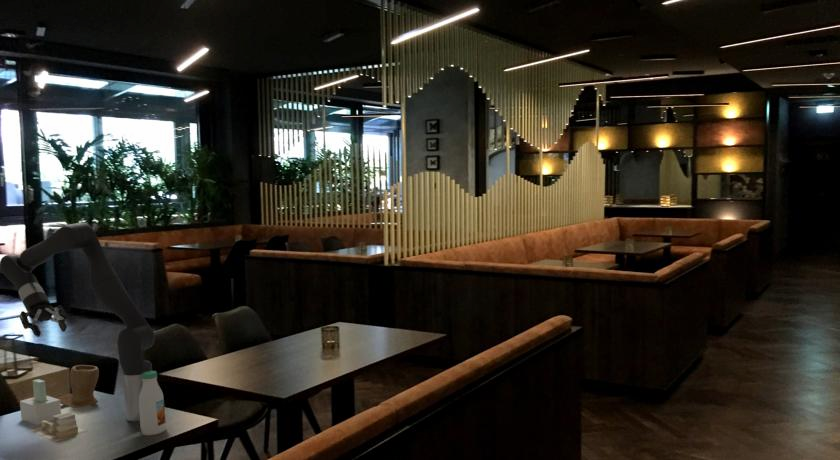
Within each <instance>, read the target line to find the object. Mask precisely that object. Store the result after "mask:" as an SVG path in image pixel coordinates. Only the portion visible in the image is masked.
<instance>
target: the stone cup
mask: <svg viewBox="0 0 840 460" xmlns="http://www.w3.org/2000/svg"><path fill="white" fill-rule="evenodd" d="M99 377H100V370H99V368H98V366H95V365H89V364H87V365H86V364H78V365H74V366H72V367H71V369H70V371H69V383H70V388H71V389H70V390H71V393H68V394H65V395H64V394H63V395H61V396H60V397H58V398H57V399H59V400H60V405H62V406H65V407H66V406H67V407H70V408H83V407H87V406H94V405H96V404H98V403H99V400H98V399H97V398H96V397H95V395H94V394H95V393H94V391H95V388H96V386H97V384H98V380H99Z"/></svg>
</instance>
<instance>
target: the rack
mask: <svg viewBox="0 0 840 460" xmlns="http://www.w3.org/2000/svg"><path fill="white" fill-rule="evenodd" d="M52 423H53V422H52V421H50V422H48V421H45V420H44V421H42V424H41V427H37V428H34V429H31V430H30V432H31V433H34V434H37V435H39V436H42V437H45V438H46V439H49V440H51V441H53V442H54V441H55V442H59V441H61V440H65V439H67V438H70V437H74V436H77V435H80V434H83V433H86V432H87V430H86V429H83V428H80V427H78V433H75V434H71V435H68V436H65V437H62V438H60V437H57V436H54V435H52V431H51V428H52Z"/></svg>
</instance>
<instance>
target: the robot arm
mask: <svg viewBox="0 0 840 460" xmlns="http://www.w3.org/2000/svg"><path fill="white" fill-rule="evenodd" d="M78 250H81V251H82V252H83V253H84V255H85V257H86V258H87V260H88V263H89V280H88V281H89V286H90V288H91V290H92V291H93V294H94V295H95V297H96V298H97V301H98V302H99V303H101V305H103V306H104V307H105V308H106V309H108V310H109V311H111V312H112V313H113V314H115V315H116V316H117V317H118V318H119V319H120V320H121V321H122V322H123V324H124V325H125V327H126V328H124V329H122V330H121V331H120V332H119V333H118V336H117V342H116V343H117V351H118V352H117V353H118V359H119V364H120V367H121V369H122V375H123V386H124V388H123V389H124V399H125V413H126V420H127V421H129V422H140V413H139V395H140V392H141V389H142V386H143V380H142V373H144V372H147V371H153V366H152V365H153V364H152V362H151V361H150V360H146V359H145V360H144V356H143V352H144V351H146V350H149V349H150V348H152V347H153V346H154V344H155V341H156V340H155V339H156V337H155V333H154V330H153V329H152V327H151V326H150V324H149V323H148V321H147V320H146V319H145V318H144V315H143V314H142V313H141V312H140V311H139V309H138V308H137V306H136V304H135V303H134V302H133V300H132V298H131V296H130V295H129V293H128V291H127V290H126V288H125V286H124V284H123V282H122V281H121V279H120V277H119V276H118V275H117V273H116V271H115V270H114V268H113V266H112V264H111V262H110V260H109V259H108V257H107V255H106V253H105V251H104V249H103V247H102V245H101V242H100V240H99V238H98V236H97V233H96V232H95V231H94V228H93V227H92V226H91V225H90V224H88V223H85V222H77V223H71V224H66V225H65V224H64V225H63V226H62V227H60V228H58V229H57V230H56V231H54V232H53V233H52V234H51V235H49V237H47V238H45V239H44V240H42V241H40V242H39V243H36V244H34V245H32V246H30V247H28V248H26V249H24V250H23V251H21V253H20V255H19V254H18V255H17V254H6V255H3V257H1V258H0V271H1V273H2V274H3V275H4V276H5V277H6V278H7V279H8V280H9V281H10V282H11V283H12V284H13V285H14V286H15V289H16V291H17V292H18V295H19V298H20V300H21V302H22V304H23V306H24V308H25V310H26V312H25V311H23V310H22V311H21V312H20V314H19V319H20V321H21V322H20V323H21V324H22V327H23V329H24V330H27V329H30V330H31V331H32V333H33V335H34V336H36V337H37V338H39V337H41V334H42V332H41V330H40V329H39V326H38V324H37V322H39V323H42V322H47V321H48V322H49V321H51V322H54V323H56V324H58V326H59V328H60V330H61V332H63V333H65V332H66V330H67V327H68V326H67V324H66V322H67V320H68V317H69V315H68V314H67V311H65V309H64V307H63V306H62V305H61V304H59V305H58V306H57V307H53V306H52V304H51V302H50V300H49V298H48V297H47V295H46V292H45V291H44V288H43V287H42V286H41V285H40V283H39V281H38V279H37V276H35V275H34V273H32V272H33V271H34V270H35V269H36V267H38V266H40V265H43V264H44V263H46V262H47V261H50V260H51V259H52V258H53V256H54V255H57V254H59V253H60V254H61V253H63V252H68V251H78ZM28 317H29V318H31V319H33V320H32V322H30V321H29V318H28Z"/></svg>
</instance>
